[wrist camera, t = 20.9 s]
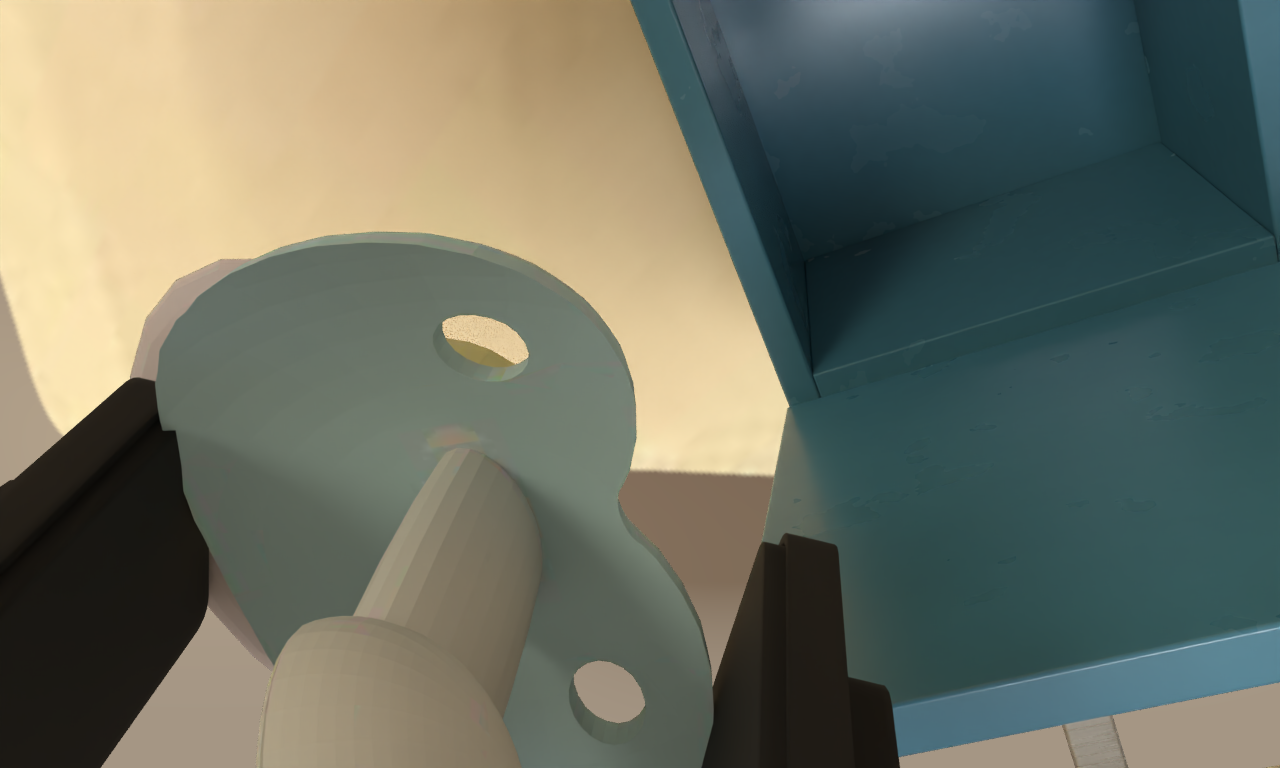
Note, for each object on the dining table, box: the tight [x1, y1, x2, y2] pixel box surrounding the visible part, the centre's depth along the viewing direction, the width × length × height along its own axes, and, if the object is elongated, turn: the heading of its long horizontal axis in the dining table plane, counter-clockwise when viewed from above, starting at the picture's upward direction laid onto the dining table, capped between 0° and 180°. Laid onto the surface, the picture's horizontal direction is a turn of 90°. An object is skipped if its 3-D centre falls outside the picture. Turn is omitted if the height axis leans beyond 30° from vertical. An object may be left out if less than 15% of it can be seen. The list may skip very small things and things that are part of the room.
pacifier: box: [130, 232, 714, 768], centre depth 9 cm, size 7×6×6 cm
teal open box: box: [630, 0, 1280, 407], centre depth 28 cm, size 14×13×9 cm
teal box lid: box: [762, 262, 1280, 768], centre depth 20 cm, size 15×13×5 cm
